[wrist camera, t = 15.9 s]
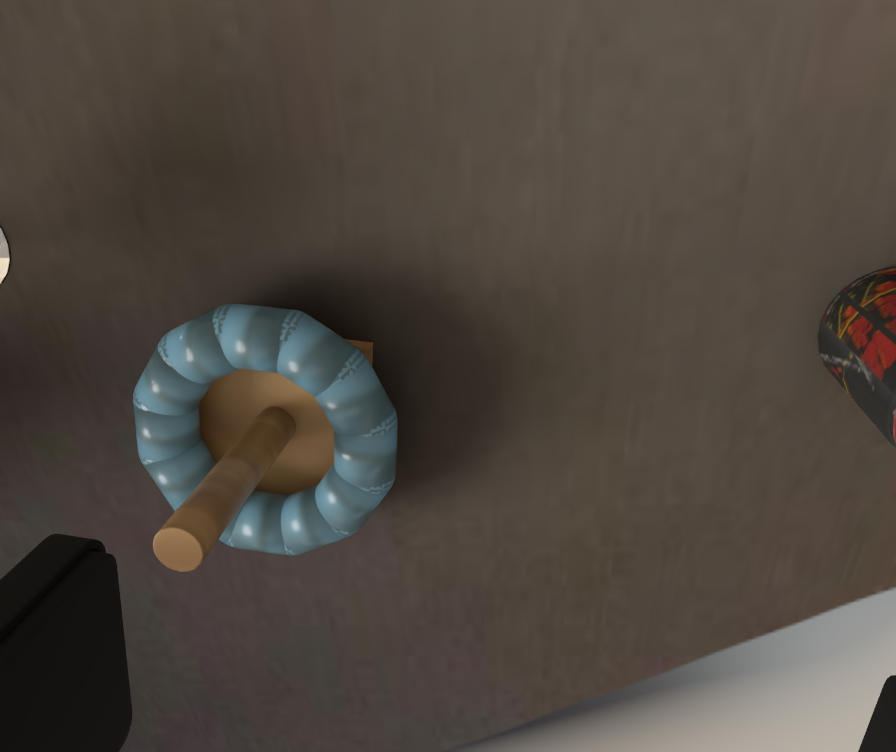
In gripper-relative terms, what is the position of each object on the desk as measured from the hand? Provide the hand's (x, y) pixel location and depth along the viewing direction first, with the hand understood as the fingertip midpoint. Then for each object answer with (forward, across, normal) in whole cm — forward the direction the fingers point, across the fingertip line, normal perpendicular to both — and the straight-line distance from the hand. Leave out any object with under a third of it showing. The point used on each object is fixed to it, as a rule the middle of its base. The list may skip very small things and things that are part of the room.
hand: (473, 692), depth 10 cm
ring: (+25, +12, +11) cm, 30 cm away
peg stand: (+28, +12, +11) cm, 33 cm away
